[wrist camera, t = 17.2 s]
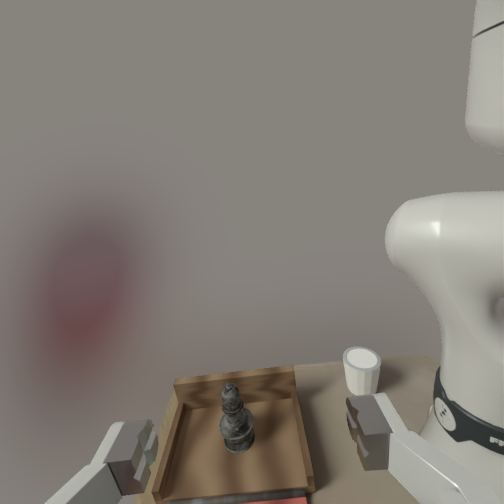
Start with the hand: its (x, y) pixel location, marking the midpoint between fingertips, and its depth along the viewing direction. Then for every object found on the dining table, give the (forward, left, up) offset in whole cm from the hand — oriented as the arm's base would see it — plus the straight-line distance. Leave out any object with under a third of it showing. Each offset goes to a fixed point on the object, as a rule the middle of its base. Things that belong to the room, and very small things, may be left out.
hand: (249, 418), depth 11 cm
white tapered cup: (-18, -33, -35) cm, 52 cm away
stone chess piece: (+6, -24, -34) cm, 42 cm away
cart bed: (+7, -22, -35) cm, 42 cm away
